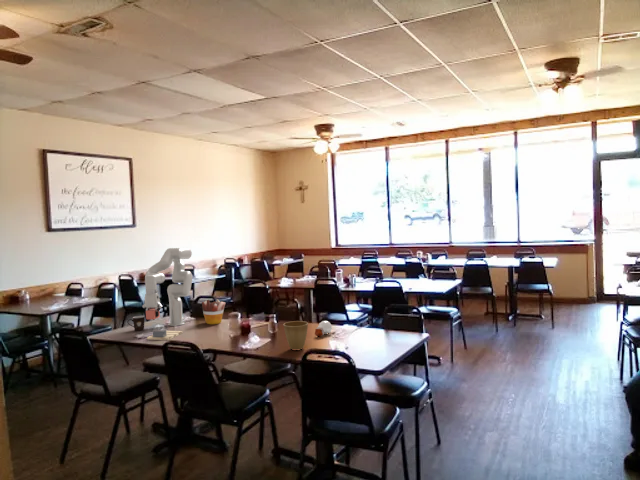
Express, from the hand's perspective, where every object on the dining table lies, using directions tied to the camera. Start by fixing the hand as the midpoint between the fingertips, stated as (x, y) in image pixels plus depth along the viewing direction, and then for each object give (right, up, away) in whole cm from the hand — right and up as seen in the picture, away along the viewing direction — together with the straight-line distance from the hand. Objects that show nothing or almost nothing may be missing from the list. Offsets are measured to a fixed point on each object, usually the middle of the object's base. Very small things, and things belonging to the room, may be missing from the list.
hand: (152, 316), depth 357 cm
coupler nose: (+10, -11, -16) cm, 22 cm away
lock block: (0, -1, 0) cm, 1 cm away
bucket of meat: (+37, -10, +32) cm, 50 cm away
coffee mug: (-16, -13, +14) cm, 25 cm away
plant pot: (+106, -12, -54) cm, 120 cm away
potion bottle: (+123, -10, -19) cm, 125 cm away
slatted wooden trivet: (+12, -13, -9) cm, 19 cm away
